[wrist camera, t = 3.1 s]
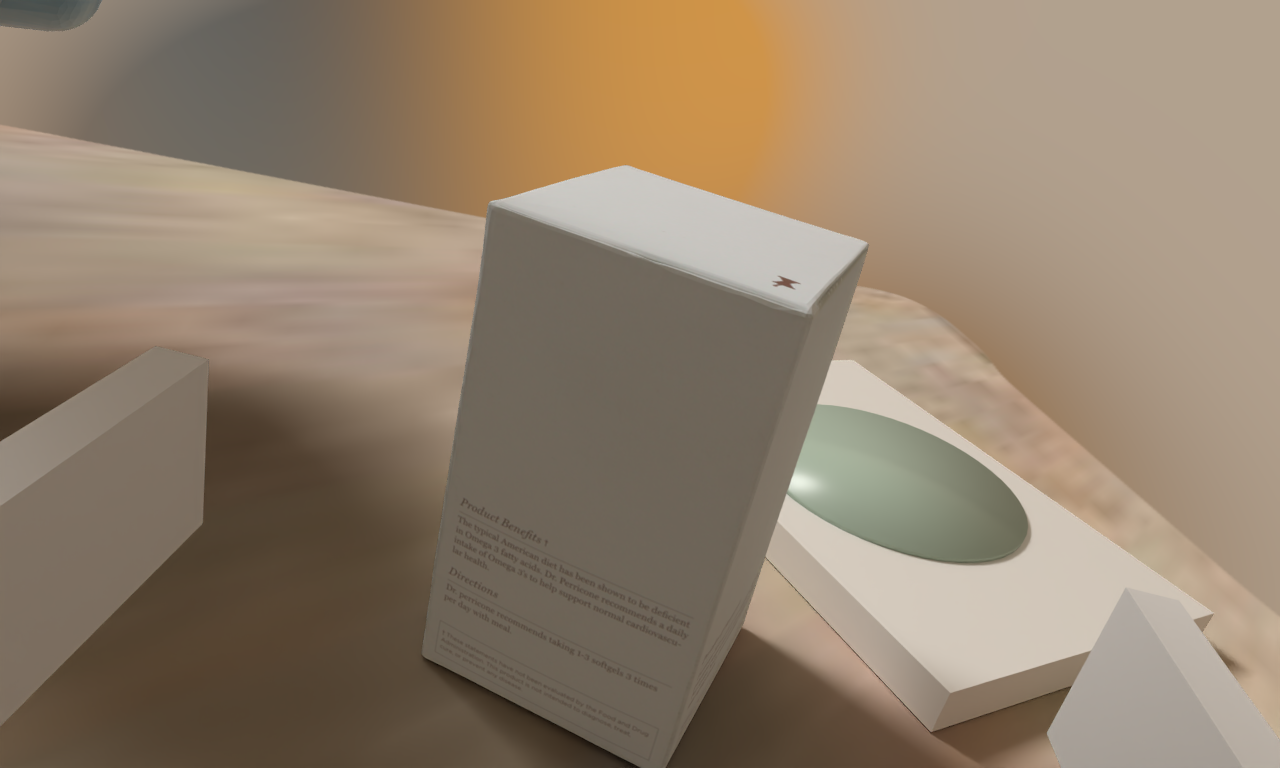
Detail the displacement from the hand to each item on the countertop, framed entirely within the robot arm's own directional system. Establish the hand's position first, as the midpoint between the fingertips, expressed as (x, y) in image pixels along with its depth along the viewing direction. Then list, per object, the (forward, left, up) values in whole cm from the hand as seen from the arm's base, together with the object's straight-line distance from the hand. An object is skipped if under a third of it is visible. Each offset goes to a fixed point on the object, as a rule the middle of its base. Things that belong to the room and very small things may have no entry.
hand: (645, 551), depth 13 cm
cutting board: (-12, +21, -10) cm, 26 cm away
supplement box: (-8, +6, -10) cm, 14 cm away
